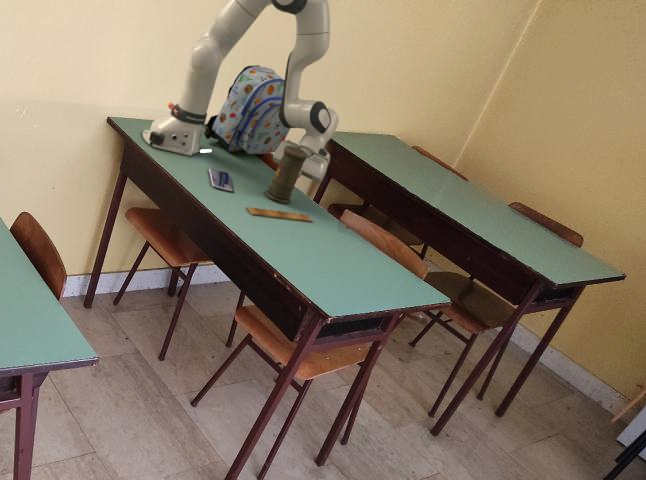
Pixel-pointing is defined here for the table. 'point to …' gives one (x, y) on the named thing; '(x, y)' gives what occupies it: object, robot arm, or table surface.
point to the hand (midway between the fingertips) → (288, 180)
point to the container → (286, 174)
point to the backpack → (251, 113)
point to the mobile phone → (220, 180)
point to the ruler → (279, 214)
